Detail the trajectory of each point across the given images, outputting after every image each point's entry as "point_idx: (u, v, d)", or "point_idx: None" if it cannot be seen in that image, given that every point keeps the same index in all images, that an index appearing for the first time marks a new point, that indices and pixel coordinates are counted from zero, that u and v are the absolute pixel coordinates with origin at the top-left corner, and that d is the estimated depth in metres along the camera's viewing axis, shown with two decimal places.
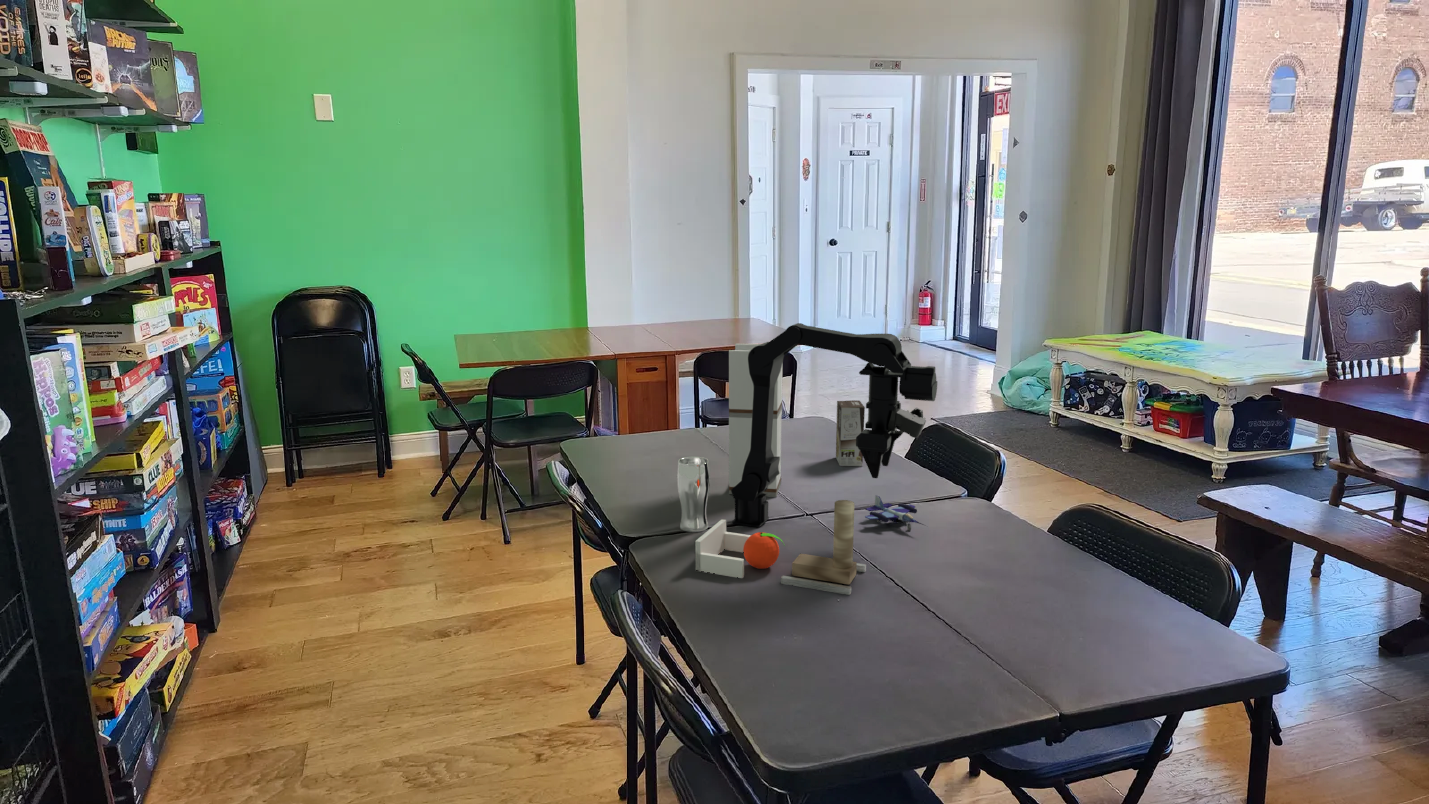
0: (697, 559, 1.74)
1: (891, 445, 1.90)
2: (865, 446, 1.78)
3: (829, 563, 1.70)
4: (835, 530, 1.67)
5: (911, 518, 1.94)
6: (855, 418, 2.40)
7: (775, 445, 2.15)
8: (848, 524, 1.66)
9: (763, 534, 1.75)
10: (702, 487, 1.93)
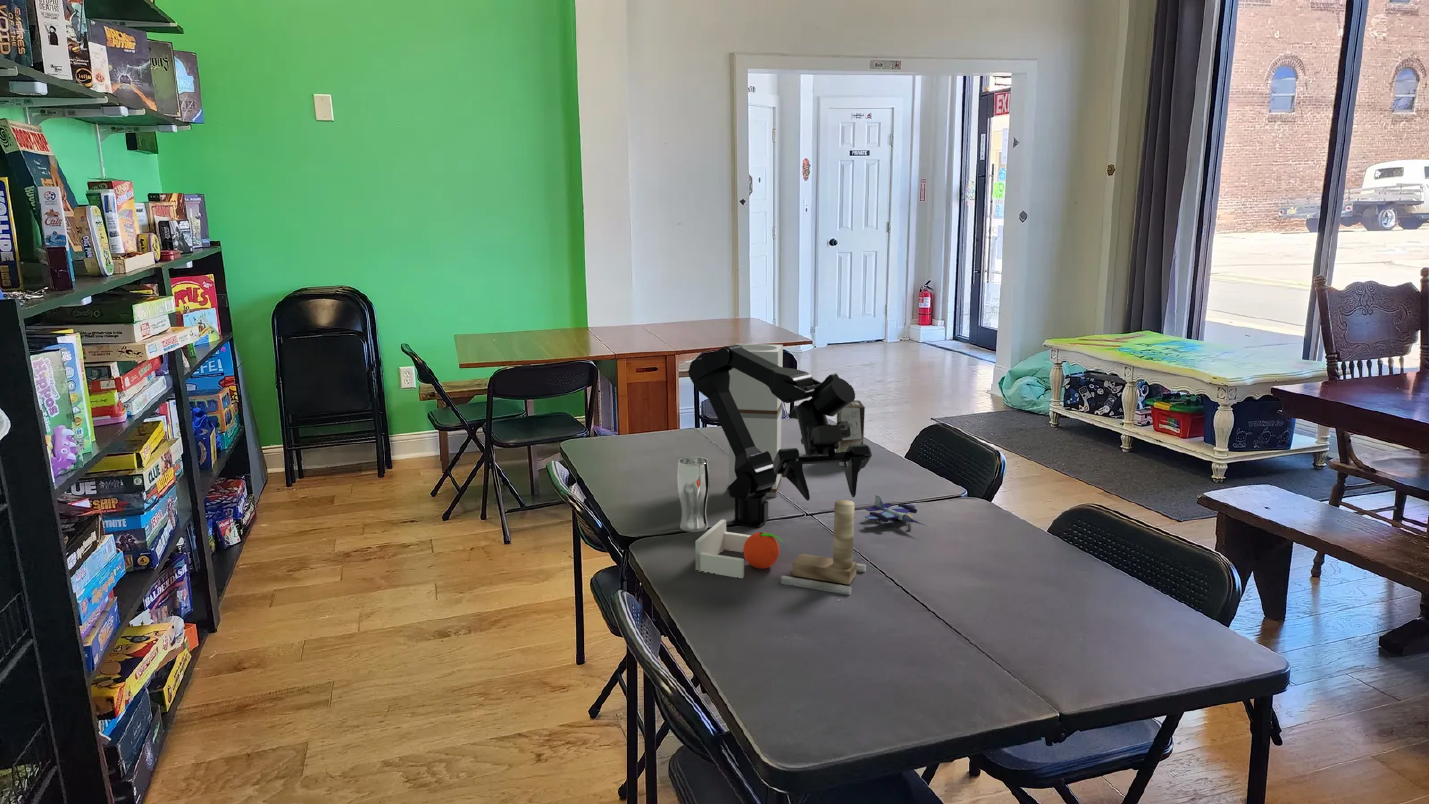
0: (697, 559, 1.74)
1: (851, 473, 1.77)
2: (775, 468, 1.78)
3: (829, 563, 1.70)
4: (835, 530, 1.67)
5: (911, 518, 1.94)
6: (855, 418, 2.40)
7: (775, 445, 2.15)
8: (848, 524, 1.66)
9: (763, 534, 1.75)
10: (702, 487, 1.93)
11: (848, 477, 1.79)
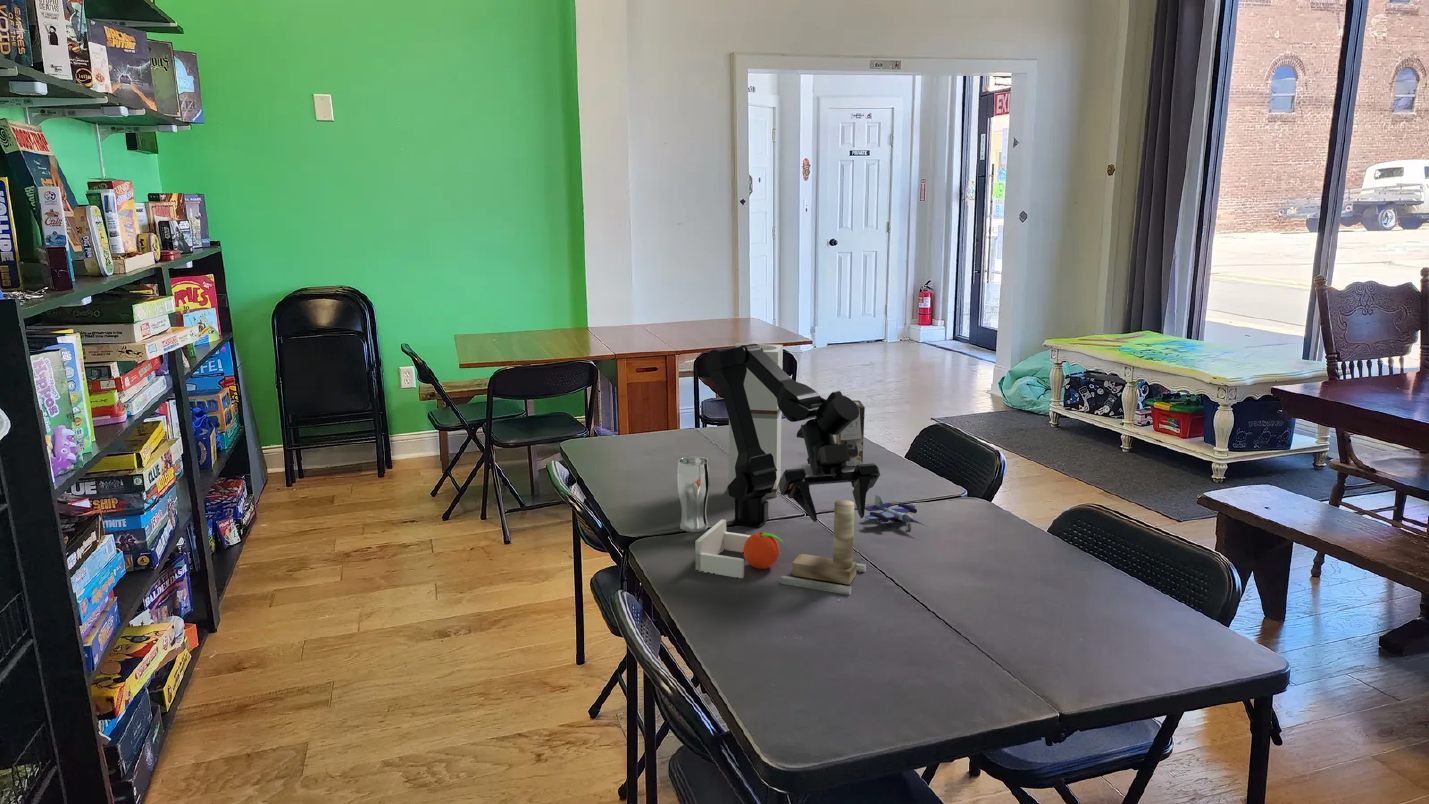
0: (697, 559, 1.74)
1: (859, 493, 1.73)
2: (782, 489, 1.74)
3: (829, 563, 1.70)
4: (835, 530, 1.67)
5: (911, 518, 1.94)
6: None
7: (775, 445, 2.15)
8: (848, 524, 1.66)
9: (763, 534, 1.75)
10: (702, 487, 1.93)
11: (856, 497, 1.75)
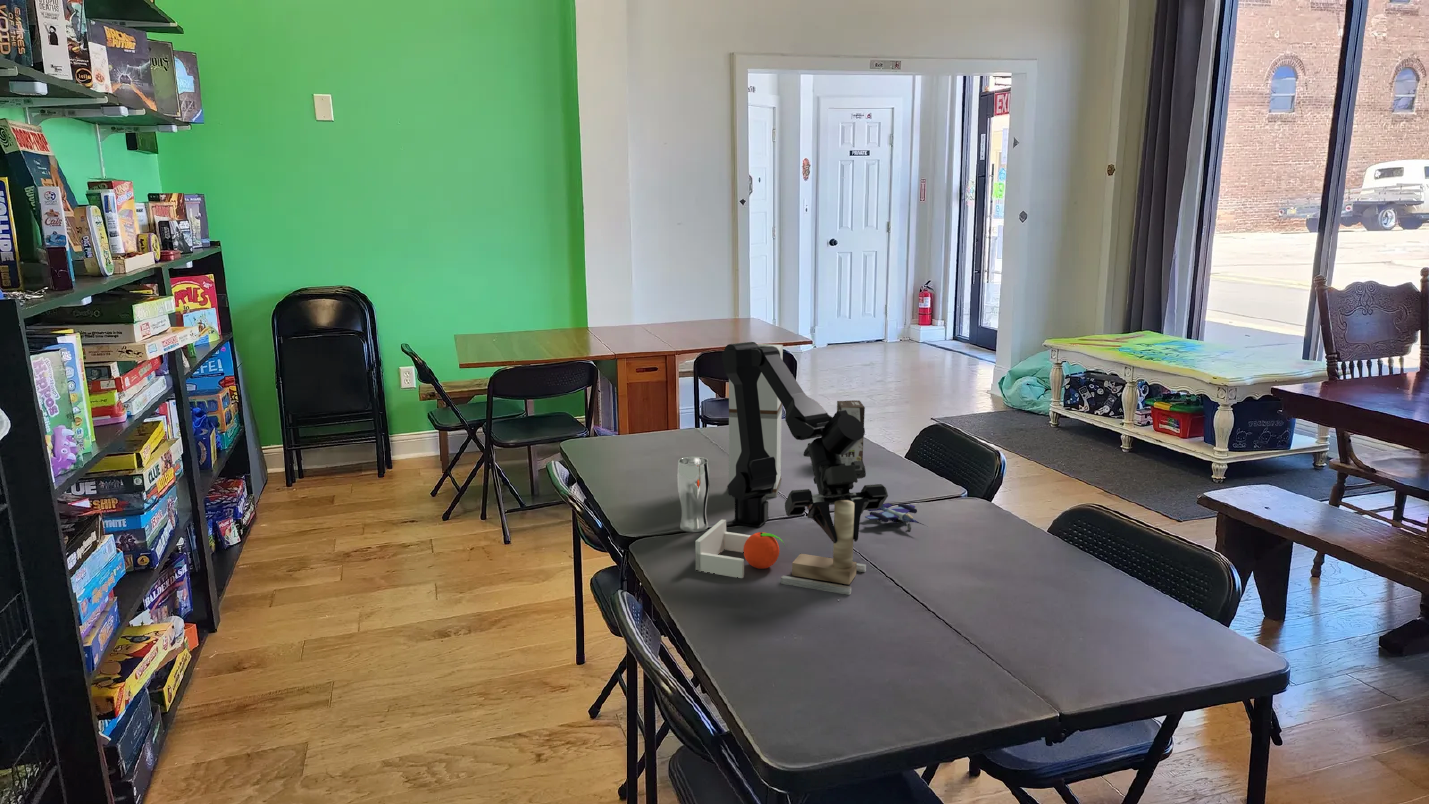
0: (697, 559, 1.74)
1: None
2: (787, 510, 1.70)
3: (829, 563, 1.70)
4: (835, 530, 1.67)
5: (911, 518, 1.94)
6: None
7: (775, 445, 2.15)
8: (848, 524, 1.66)
9: (763, 534, 1.75)
10: (702, 487, 1.93)
11: None
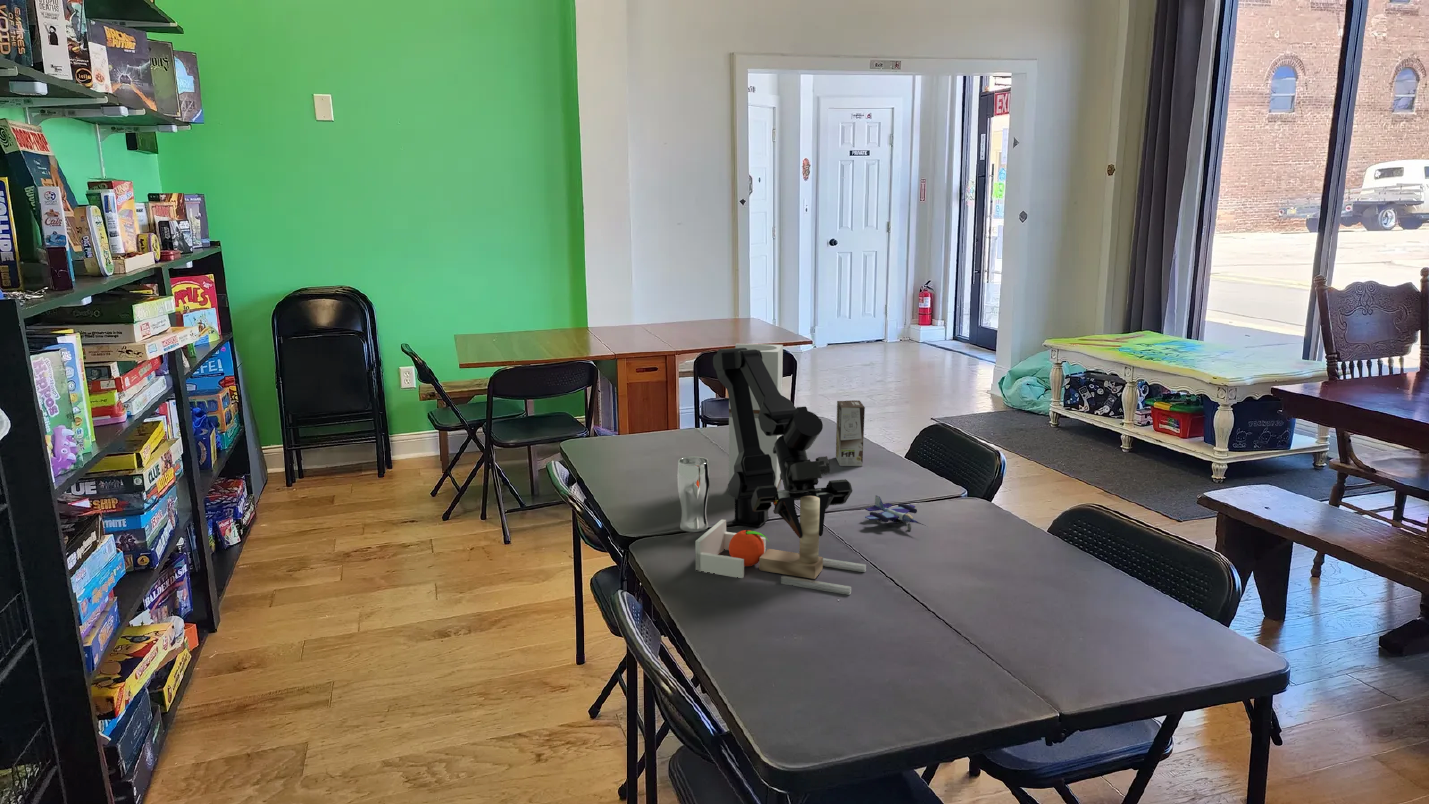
0: (697, 559, 1.74)
1: None
2: (753, 506, 1.73)
3: (796, 558, 1.73)
4: (801, 526, 1.70)
5: (911, 518, 1.94)
6: (855, 418, 2.40)
7: None
8: (813, 519, 1.69)
9: (748, 532, 1.76)
10: (702, 487, 1.93)
11: None
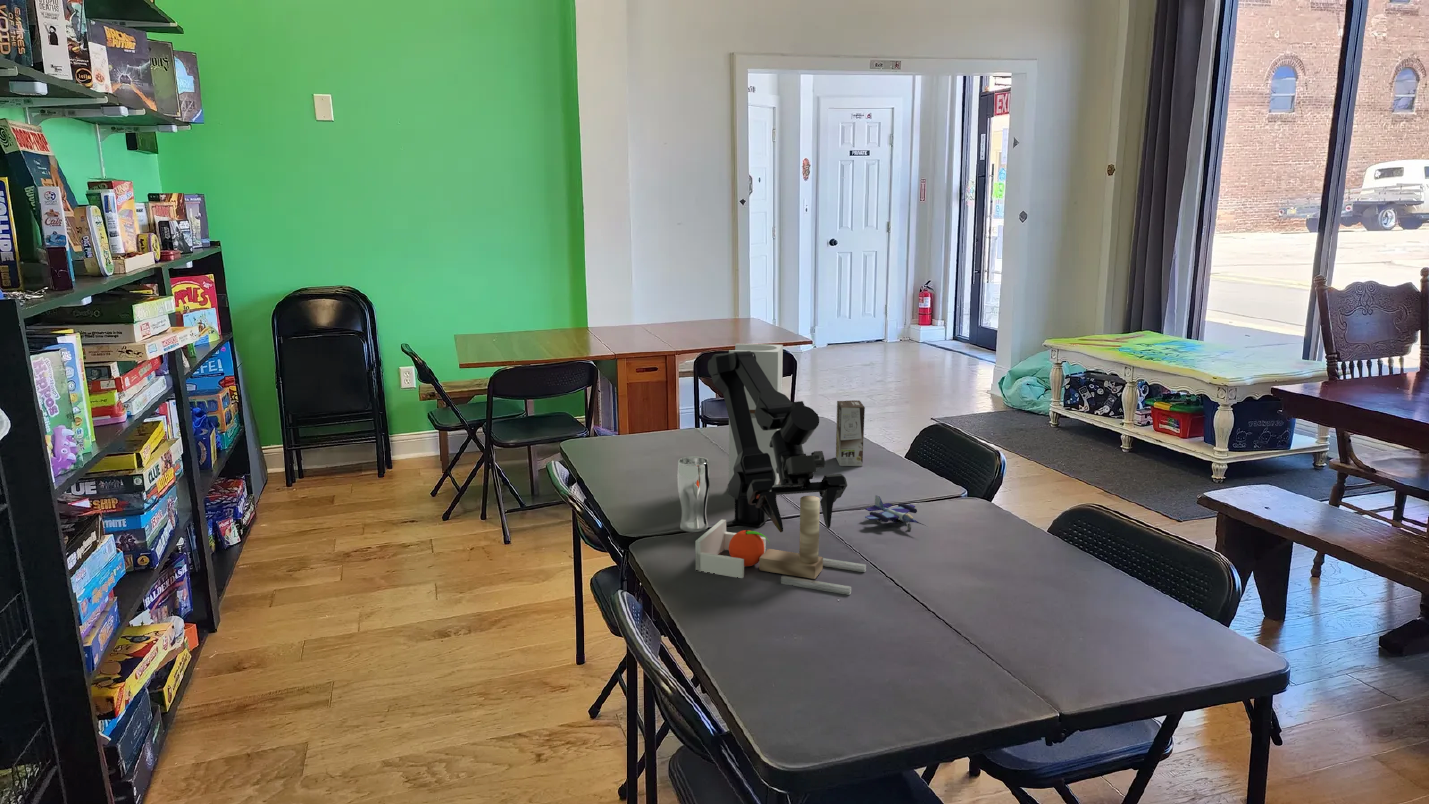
0: (697, 559, 1.74)
1: (826, 503, 1.74)
2: (749, 499, 1.75)
3: (796, 558, 1.73)
4: (801, 526, 1.70)
5: (911, 518, 1.94)
6: (855, 418, 2.40)
7: None
8: (813, 519, 1.69)
9: (748, 532, 1.76)
10: (702, 487, 1.93)
11: (823, 508, 1.76)
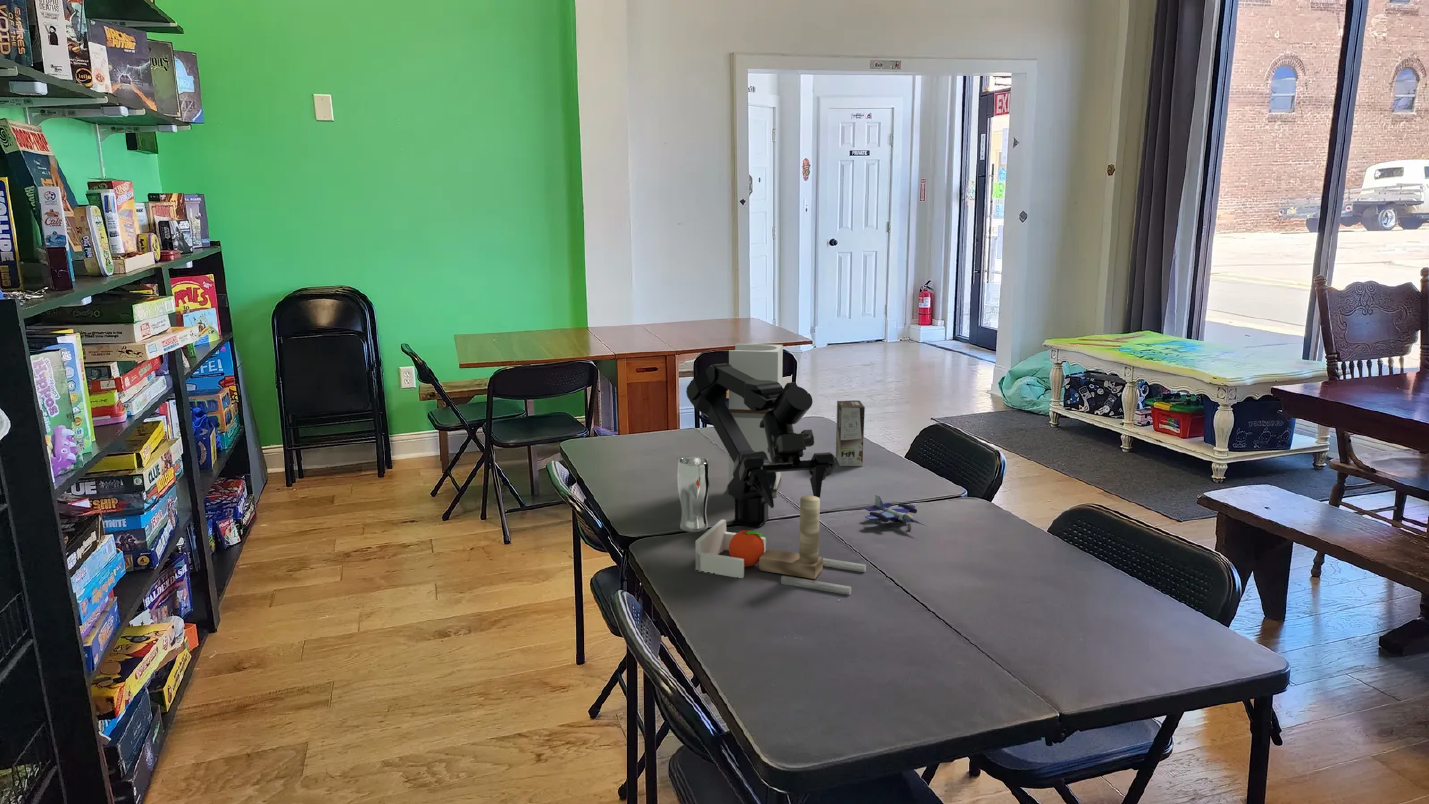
0: (697, 559, 1.74)
1: (815, 480, 1.80)
2: (741, 476, 1.81)
3: (796, 558, 1.73)
4: (801, 526, 1.70)
5: (911, 518, 1.94)
6: (855, 418, 2.40)
7: None
8: (813, 519, 1.69)
9: (748, 532, 1.76)
10: (702, 487, 1.93)
11: (813, 485, 1.82)
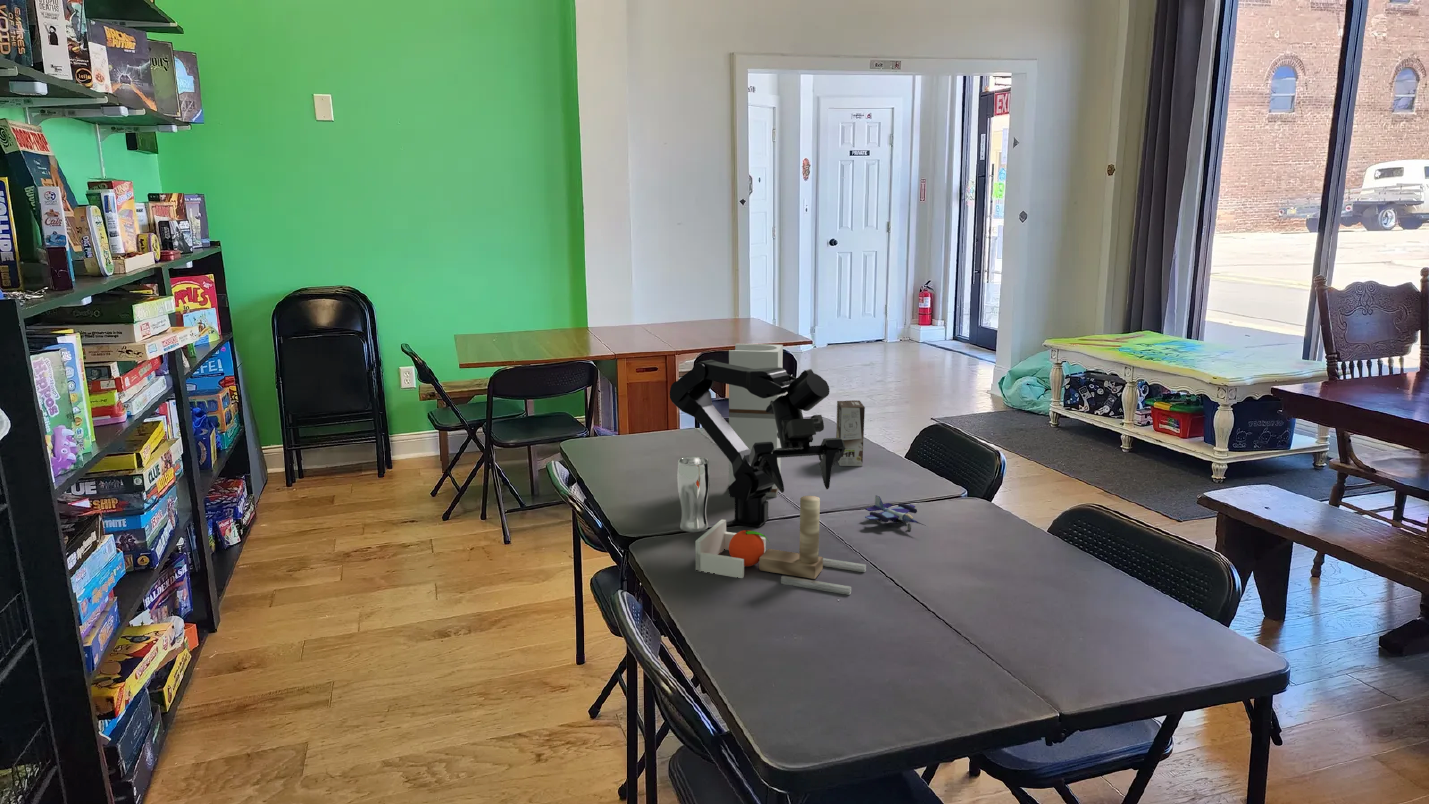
0: (697, 559, 1.74)
1: (825, 465, 1.82)
2: (751, 461, 1.82)
3: (796, 558, 1.73)
4: (801, 526, 1.70)
5: (911, 518, 1.94)
6: (855, 418, 2.40)
7: (775, 445, 2.15)
8: (813, 519, 1.69)
9: (748, 532, 1.76)
10: (702, 487, 1.93)
11: (822, 470, 1.84)
